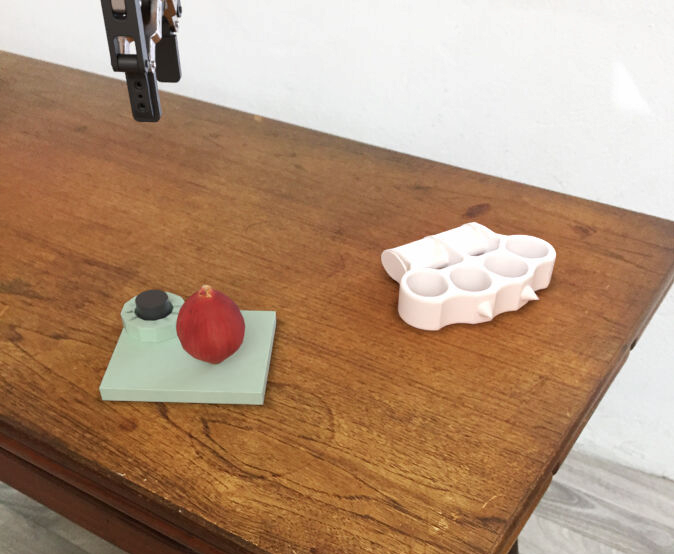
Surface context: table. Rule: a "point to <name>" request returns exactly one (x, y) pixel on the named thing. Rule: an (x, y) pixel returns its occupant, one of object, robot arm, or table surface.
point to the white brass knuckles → (467, 275)
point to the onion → (210, 326)
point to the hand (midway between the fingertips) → (159, 99)
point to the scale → (186, 362)
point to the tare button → (152, 305)
